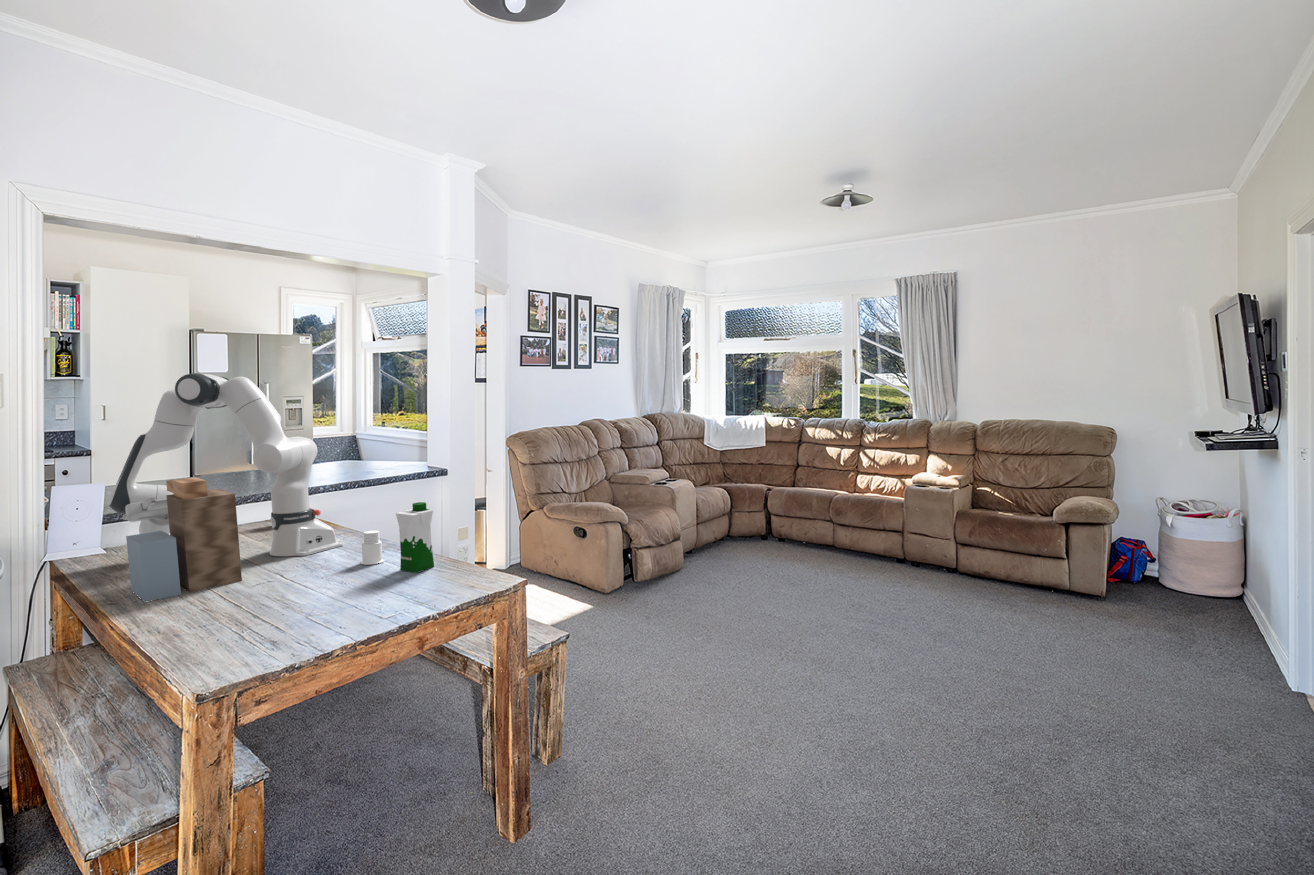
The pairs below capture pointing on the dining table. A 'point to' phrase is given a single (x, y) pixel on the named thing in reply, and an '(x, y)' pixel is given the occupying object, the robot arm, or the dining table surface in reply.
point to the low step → (153, 565)
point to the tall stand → (205, 539)
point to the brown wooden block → (187, 487)
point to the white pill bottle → (371, 548)
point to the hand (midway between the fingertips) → (171, 497)
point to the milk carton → (416, 538)
